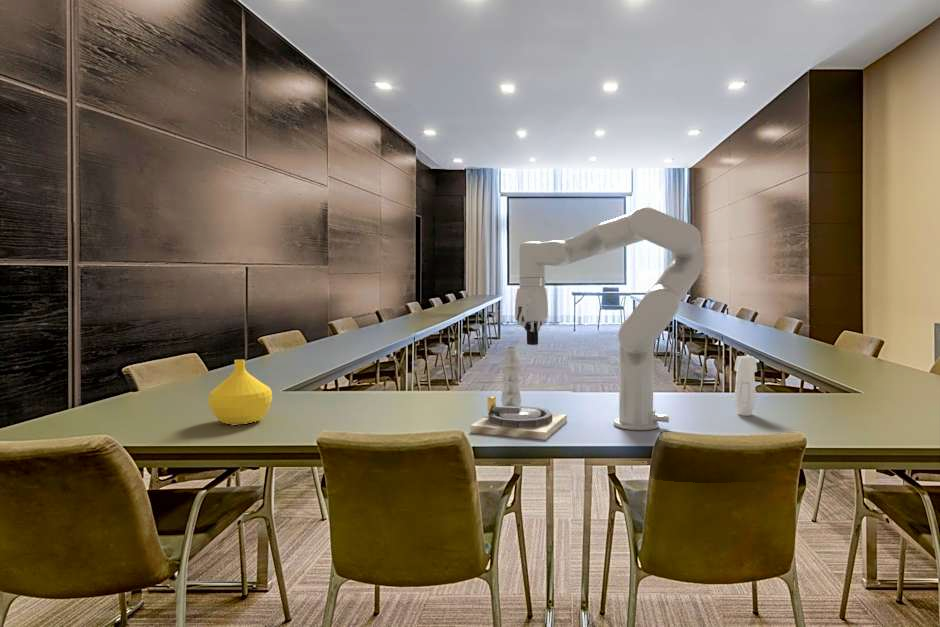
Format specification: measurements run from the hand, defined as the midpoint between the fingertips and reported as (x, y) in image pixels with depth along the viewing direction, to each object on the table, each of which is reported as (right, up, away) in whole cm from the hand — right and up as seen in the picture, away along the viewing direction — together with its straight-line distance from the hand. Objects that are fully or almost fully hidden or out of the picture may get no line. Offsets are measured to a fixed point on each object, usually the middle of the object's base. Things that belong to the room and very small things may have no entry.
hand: (532, 344), depth 189 cm
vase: (-89, -24, +4) cm, 92 cm away
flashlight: (+66, -22, +6) cm, 70 cm away
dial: (-6, -21, -6) cm, 23 cm away
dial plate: (-4, -24, -6) cm, 25 cm away
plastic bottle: (-5, -22, +19) cm, 30 cm away
